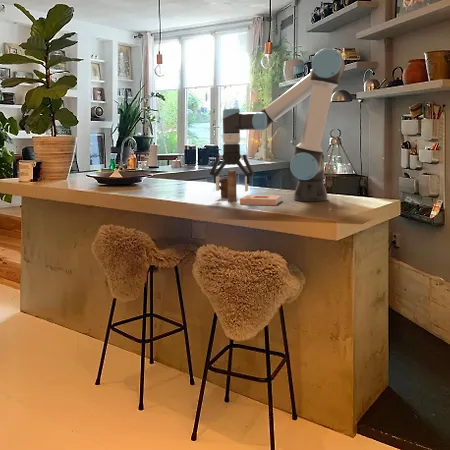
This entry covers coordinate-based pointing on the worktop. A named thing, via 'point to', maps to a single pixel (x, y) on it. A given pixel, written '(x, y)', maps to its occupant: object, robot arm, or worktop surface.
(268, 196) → the socket plate
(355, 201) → the worktop surface
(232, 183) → the peg
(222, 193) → the mug
